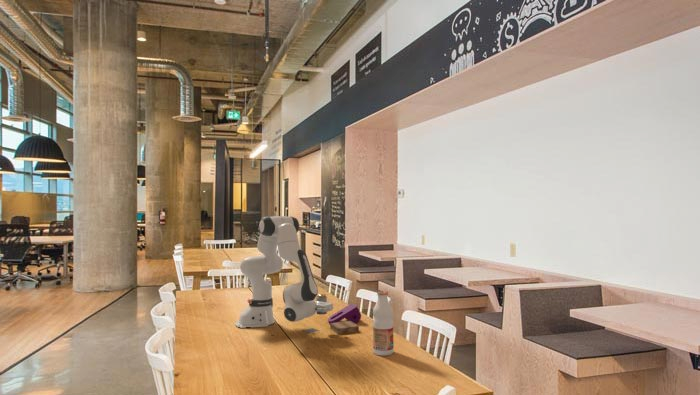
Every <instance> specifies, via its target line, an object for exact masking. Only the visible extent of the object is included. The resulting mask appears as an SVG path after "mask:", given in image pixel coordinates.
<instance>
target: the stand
mask: <svg viewBox="0 0 700 395" xmlns="http://www.w3.org/2000/svg"><path fill="white" fill-rule="evenodd" d="M329 328H330V330H332V331H333V332H334V333H336V335H345V334H351V333H352V334H353V333H359V332H360V331H359V330H360V329H359V328H360V326H359V325H357V323H353V322H351V321H348V320H346V321H339V322H336V323H330V326H329Z"/></svg>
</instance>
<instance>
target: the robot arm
mask: <svg viewBox="0 0 700 395" xmlns="http://www.w3.org/2000/svg"><path fill="white" fill-rule="evenodd" d="M258 224H259V225H258V229H259V237H258V240H257V244H256V245H257V246H256V247H257V250H258V252H260V253H261V254H262V255H256V256H249V257H246V258H243V259H242V260H241V262H240V263H239V264H240V265H239V268H240V272H241V273H242V275H244V276H245V277H246V278H247V279H248V280H249V282H250V284H251V290H252V291H251V292H252V298H251V299H250V298H248V299H247V300H246V301H247V303H248V306H247V307H246V308H245V309H243V310H242V311H241V313H240V314H239V317H238V320H236V321H235V322H234V324H235V327H236V326H237V327H236V328H238V327H240V328H239V329H246V327H251V328H265V327H269V326H271V325H273V324H274V323H275V317H274V311H273V307H274V300H273V297H272V296H273V291H272V290H273V289H272V288H273V287H272V284H271V283H270V282H269V281H268V280H265V279H264V276H265V275H271V274H272V275H273V274H275V273H278V272H281V270H282V269H283V265H284V262H283V260H284V261H288V262H293V263H296V264H297V265H298V268H299V271H300V275H301V282H297V283H292V284H290V285H286V286H285V287H284V289H283V291H282V300H283V302H284V306H285V307H284V309H283V315H284V318H285V319H286V320H287V321H288V322H291V323H295V322H299V321H302V320H304V319H307V318H310V317H312V316H314V315H315V314H317V311H318V312H327V313H328V312H331V311H333V310H334V303H333V302H329V301H327V302H321V301H317V296H318V294H319V289H318V285H317V283H316V281H315V279H314V276H313V271H312V268H311V266H310V262H309V261H310V260H309V259H308V256H307V254H306V251H305V250H303V249H302V248H301V246H300V243H299V242H300V241H299V236H298V232H299V230H300V223H299V220H298V218H296V217H294V216H285V215H278V216H277V215H275V216H273V215H272V216H270V215H269V216H263V217H261V219H260V220H259V223H258ZM277 252H278V253H277Z"/></svg>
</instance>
